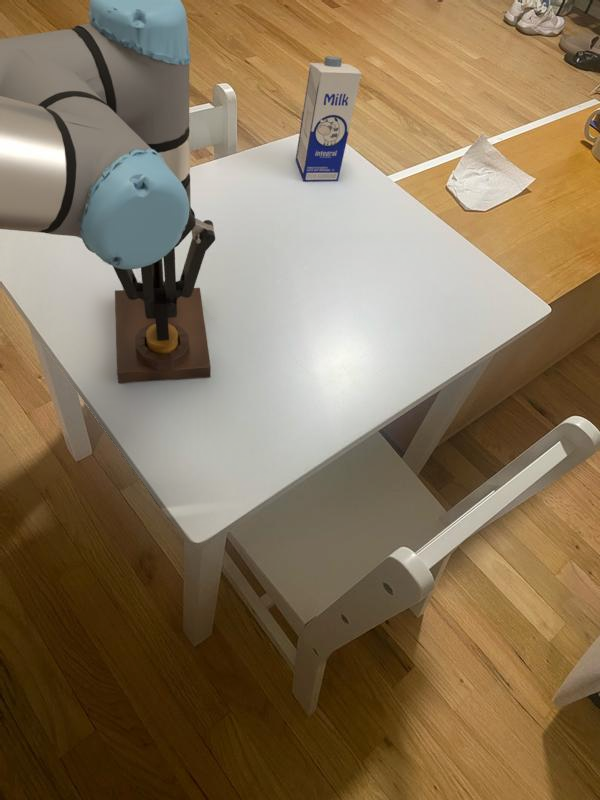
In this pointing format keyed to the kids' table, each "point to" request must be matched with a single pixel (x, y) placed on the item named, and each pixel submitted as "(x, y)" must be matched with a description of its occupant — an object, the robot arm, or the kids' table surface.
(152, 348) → the lamp switch
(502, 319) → the kids' table surface
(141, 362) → the lamp base
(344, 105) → the milk carton
